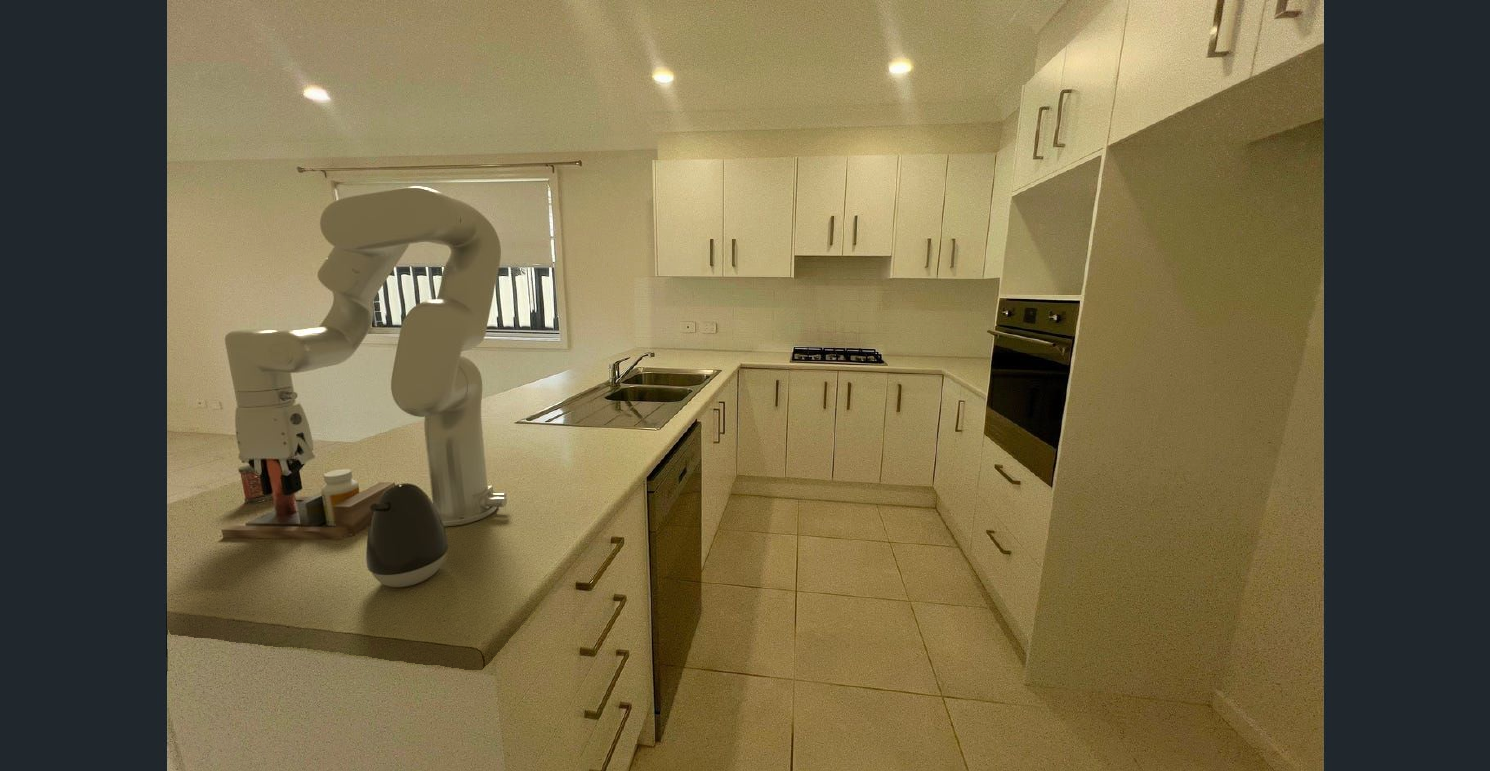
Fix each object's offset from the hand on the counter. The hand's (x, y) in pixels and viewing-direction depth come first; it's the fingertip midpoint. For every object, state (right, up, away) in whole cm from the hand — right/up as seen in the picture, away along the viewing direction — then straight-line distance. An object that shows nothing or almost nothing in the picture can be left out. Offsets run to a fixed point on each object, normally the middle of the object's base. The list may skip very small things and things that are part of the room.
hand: (283, 491), depth 90 cm
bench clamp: (+7, -6, +1) cm, 9 cm away
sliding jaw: (+2, -5, +1) cm, 6 cm away
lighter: (-13, -4, +11) cm, 17 cm away
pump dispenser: (+36, -10, -16) cm, 41 cm away
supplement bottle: (+11, -6, +1) cm, 12 cm away
